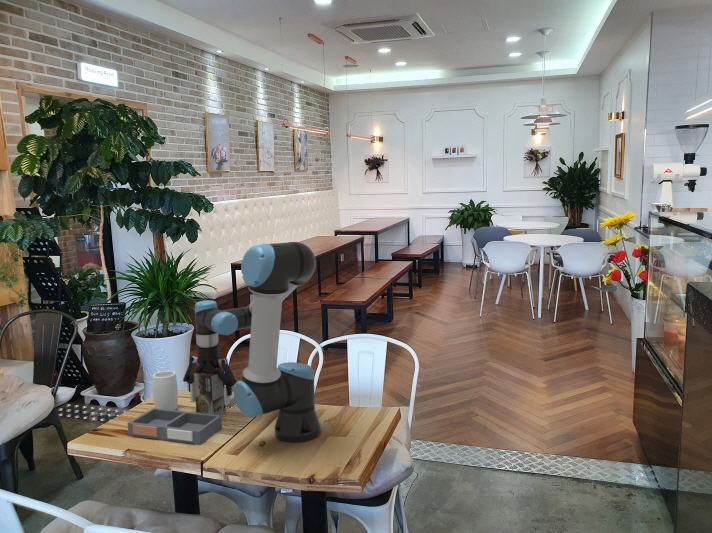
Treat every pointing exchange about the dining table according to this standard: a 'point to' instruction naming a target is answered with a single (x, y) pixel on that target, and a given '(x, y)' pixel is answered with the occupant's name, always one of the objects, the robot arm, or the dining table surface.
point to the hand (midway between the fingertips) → (210, 402)
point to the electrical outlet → (232, 401)
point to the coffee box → (209, 393)
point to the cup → (165, 390)
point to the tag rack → (175, 426)
